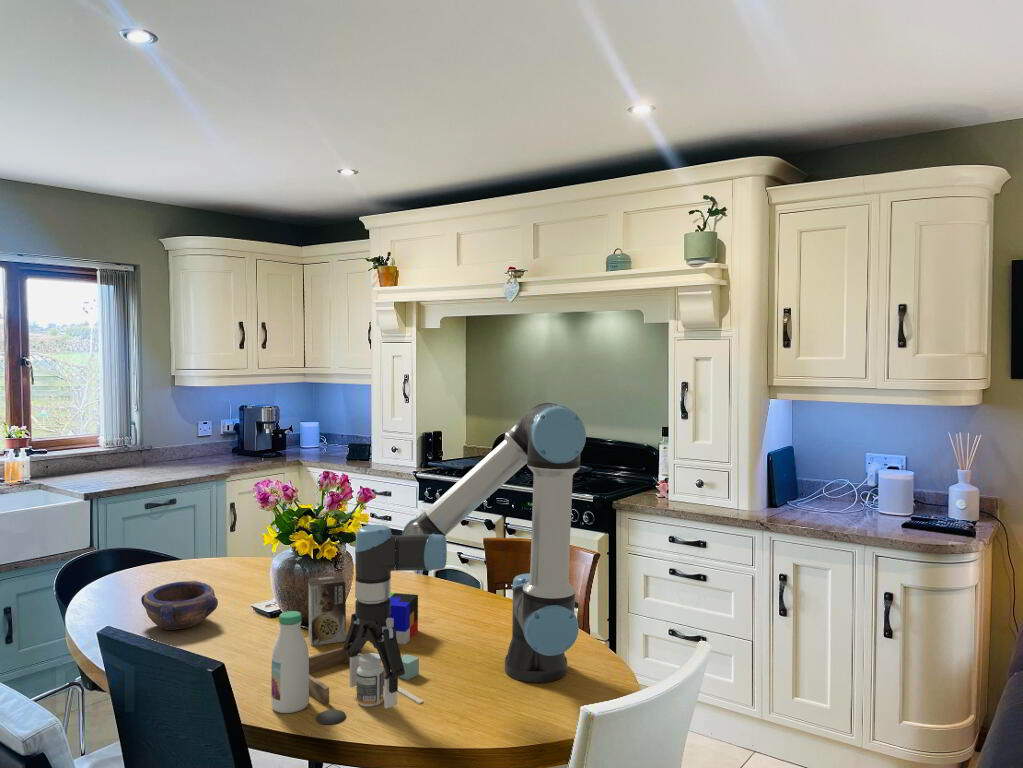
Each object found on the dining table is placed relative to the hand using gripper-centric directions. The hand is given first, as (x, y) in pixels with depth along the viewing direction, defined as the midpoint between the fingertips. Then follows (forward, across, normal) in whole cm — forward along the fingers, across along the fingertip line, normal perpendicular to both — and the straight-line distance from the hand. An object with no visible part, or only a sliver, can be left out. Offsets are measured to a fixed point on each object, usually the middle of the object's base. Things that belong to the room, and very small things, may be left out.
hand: (372, 695), depth 166 cm
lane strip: (+2, -1, -8) cm, 8 cm away
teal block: (+2, +7, -14) cm, 16 cm away
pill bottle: (+2, +1, 0) cm, 2 cm away
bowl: (+2, +75, +14) cm, 77 cm away
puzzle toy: (+2, +30, -26) cm, 40 cm away
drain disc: (+2, 0, +10) cm, 10 cm away
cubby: (+2, +15, 0) cm, 15 cm away
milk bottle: (+2, +11, +14) cm, 18 cm away
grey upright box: (+2, +39, -11) cm, 41 cm away
